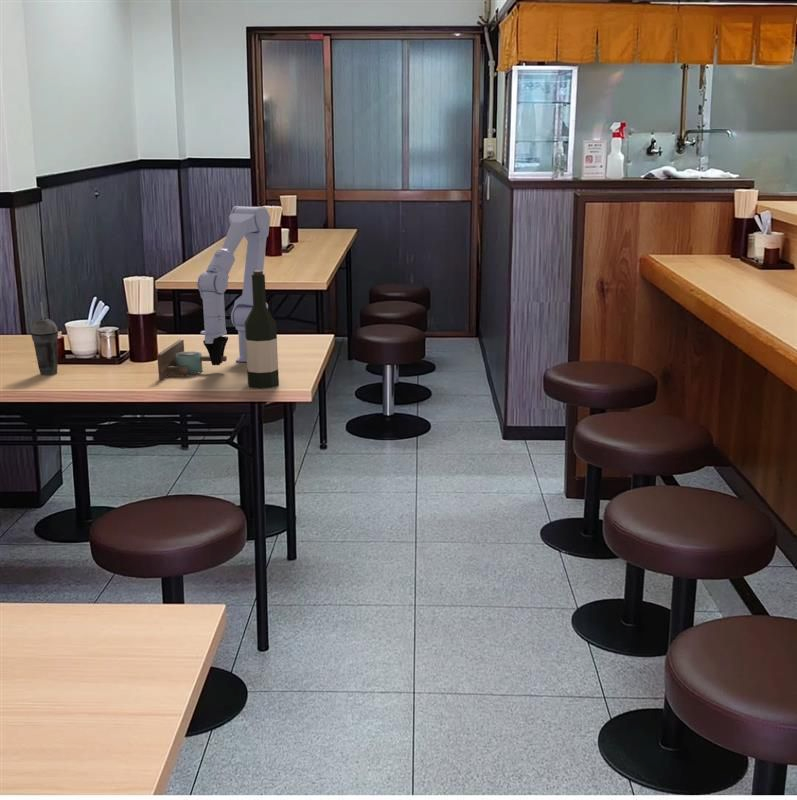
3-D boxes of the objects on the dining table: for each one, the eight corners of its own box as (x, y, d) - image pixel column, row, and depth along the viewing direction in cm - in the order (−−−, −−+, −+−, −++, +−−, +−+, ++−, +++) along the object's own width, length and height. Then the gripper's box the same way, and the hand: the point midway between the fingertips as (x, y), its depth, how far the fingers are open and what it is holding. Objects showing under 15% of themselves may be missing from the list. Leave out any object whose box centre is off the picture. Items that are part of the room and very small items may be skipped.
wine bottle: (251, 380, 270) (246, 268, 263) (282, 381, 269) (277, 268, 262) (243, 388, 262) (237, 273, 255) (275, 388, 261) (270, 273, 254)
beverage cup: (35, 377, 276) (27, 305, 271) (34, 372, 283) (26, 301, 278) (63, 375, 279) (56, 303, 274) (61, 369, 286) (54, 299, 280)
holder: (203, 363, 291) (201, 339, 289) (182, 380, 272) (180, 354, 270) (181, 363, 292) (179, 339, 290) (159, 379, 272) (157, 354, 270)
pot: (173, 374, 278) (172, 356, 277) (181, 368, 285) (180, 351, 284) (223, 375, 277) (222, 357, 276) (229, 369, 284) (228, 351, 283)
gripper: (207, 311, 284) (210, 358, 287) (192, 320, 270) (195, 369, 273) (231, 311, 283) (234, 358, 287) (218, 320, 269) (221, 370, 273)
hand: (217, 364), depth 280 cm, fingers closed on pot, 2 cm apart
